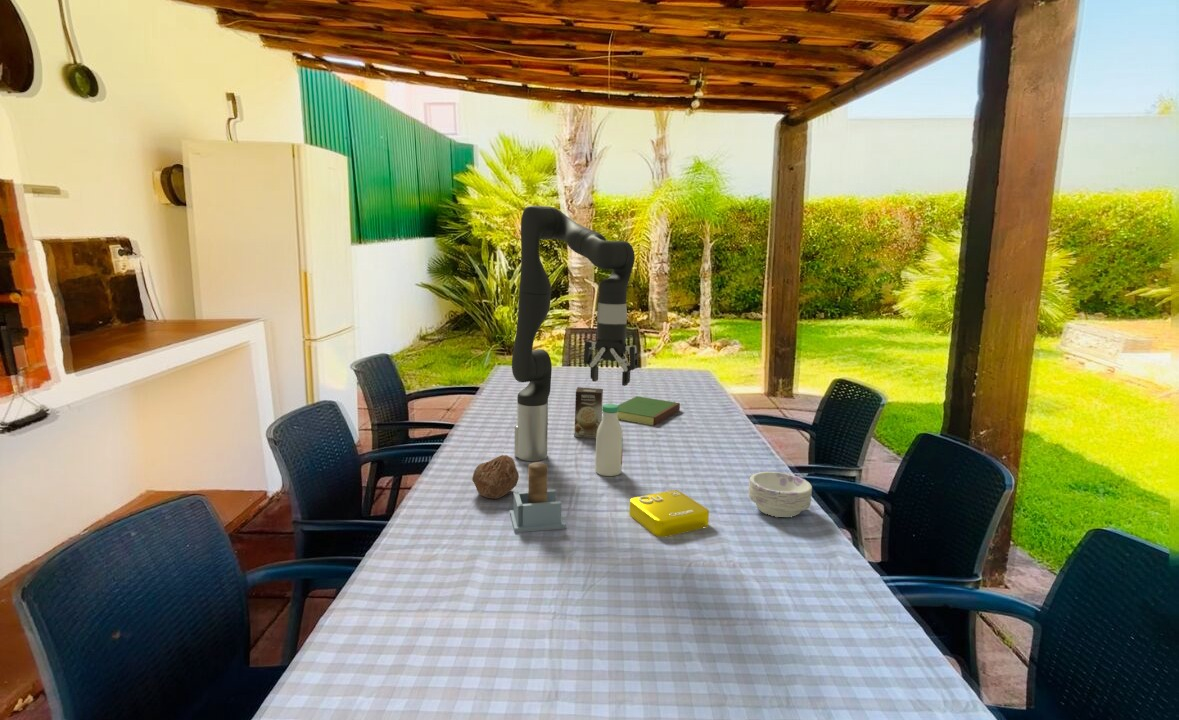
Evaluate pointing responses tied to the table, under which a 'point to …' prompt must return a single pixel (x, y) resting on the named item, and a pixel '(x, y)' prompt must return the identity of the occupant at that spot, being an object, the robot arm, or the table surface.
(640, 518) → the element tile
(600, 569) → the table surface
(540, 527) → the slate bracket
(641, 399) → the hardcover book
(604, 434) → the milk bottle
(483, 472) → the decorative rock
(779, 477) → the paper bowls
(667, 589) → the table surface
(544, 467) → the walnut peg
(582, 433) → the coffee box
